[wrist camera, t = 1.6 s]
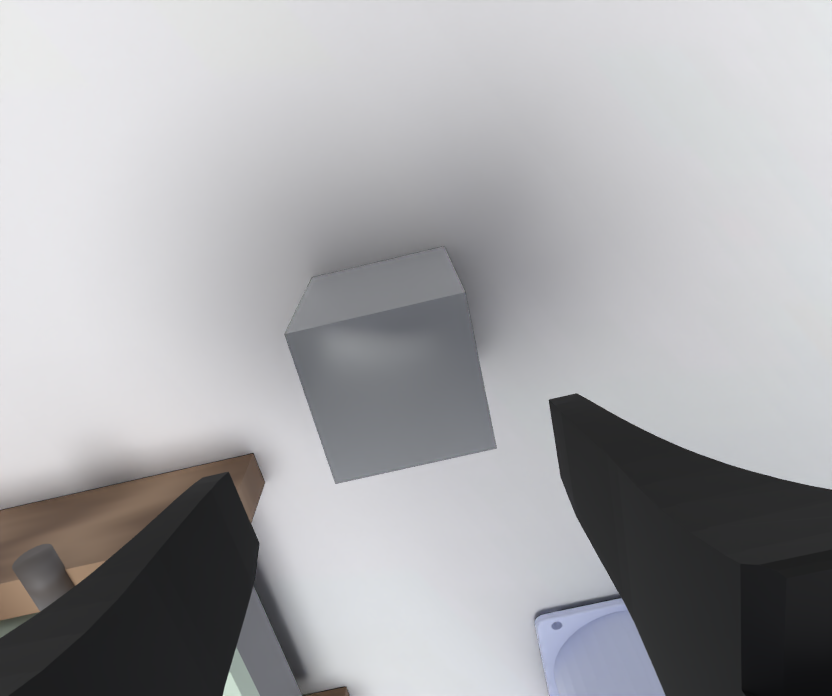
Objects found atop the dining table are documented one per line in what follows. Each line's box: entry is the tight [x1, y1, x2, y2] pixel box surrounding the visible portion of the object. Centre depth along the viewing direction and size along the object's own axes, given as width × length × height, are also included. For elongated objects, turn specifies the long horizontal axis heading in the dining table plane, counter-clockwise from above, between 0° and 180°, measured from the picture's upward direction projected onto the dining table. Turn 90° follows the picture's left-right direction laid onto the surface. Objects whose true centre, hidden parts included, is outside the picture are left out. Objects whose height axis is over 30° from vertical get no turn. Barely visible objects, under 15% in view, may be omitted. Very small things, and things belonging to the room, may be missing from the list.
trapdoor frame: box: [0, 454, 349, 696], centre depth 24 cm, size 18×18×6 cm
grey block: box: [285, 246, 497, 484], centre depth 19 cm, size 5×5×6 cm
